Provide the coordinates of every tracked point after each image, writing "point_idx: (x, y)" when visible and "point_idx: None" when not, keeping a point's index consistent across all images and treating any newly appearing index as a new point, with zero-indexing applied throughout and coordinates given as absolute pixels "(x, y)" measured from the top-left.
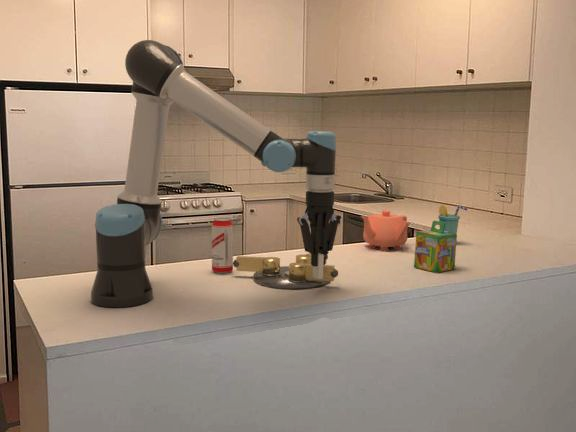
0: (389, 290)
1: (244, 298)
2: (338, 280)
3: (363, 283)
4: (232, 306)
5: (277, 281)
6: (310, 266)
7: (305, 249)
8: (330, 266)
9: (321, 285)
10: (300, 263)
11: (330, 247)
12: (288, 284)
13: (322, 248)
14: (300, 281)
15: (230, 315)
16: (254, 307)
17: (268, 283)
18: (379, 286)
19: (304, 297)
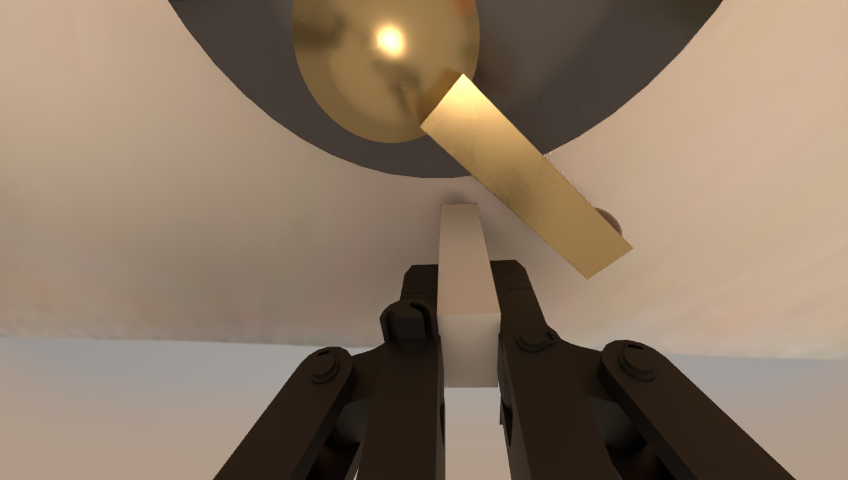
0: (722, 336)
1: (79, 184)
2: (713, 71)
3: (759, 203)
4: (46, 258)
5: (255, 14)
6: (460, 159)
7: (299, 384)
8: (579, 260)
9: None
10: (427, 7)
11: (617, 450)
12: (308, 126)
13: (506, 433)
14: None
15: (60, 327)
16: (133, 297)
17: (188, 29)
18: (758, 278)
19: (344, 275)
